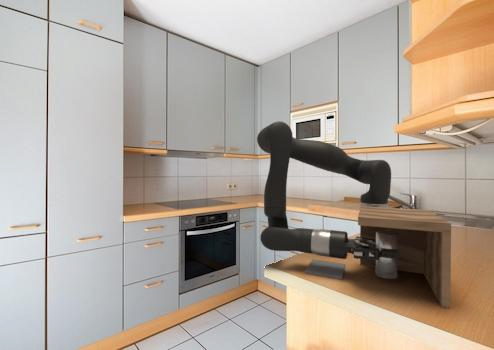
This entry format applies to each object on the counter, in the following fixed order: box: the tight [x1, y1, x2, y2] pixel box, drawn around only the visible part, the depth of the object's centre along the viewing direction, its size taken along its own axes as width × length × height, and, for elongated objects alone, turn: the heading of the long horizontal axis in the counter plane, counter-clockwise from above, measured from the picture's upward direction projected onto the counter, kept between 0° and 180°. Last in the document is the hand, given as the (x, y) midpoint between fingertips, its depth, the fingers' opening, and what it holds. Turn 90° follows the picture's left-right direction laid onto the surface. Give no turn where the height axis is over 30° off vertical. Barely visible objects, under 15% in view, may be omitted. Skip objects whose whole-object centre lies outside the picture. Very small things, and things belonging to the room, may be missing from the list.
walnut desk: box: [357, 206, 452, 309], centre depth 67 cm, size 21×18×18 cm
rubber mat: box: [304, 258, 347, 280], centre depth 76 cm, size 11×10×1 cm
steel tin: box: [374, 231, 398, 280], centre depth 67 cm, size 5×5×11 cm
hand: (397, 251), depth 66 cm, fingers closed on steel tin, 5 cm apart
